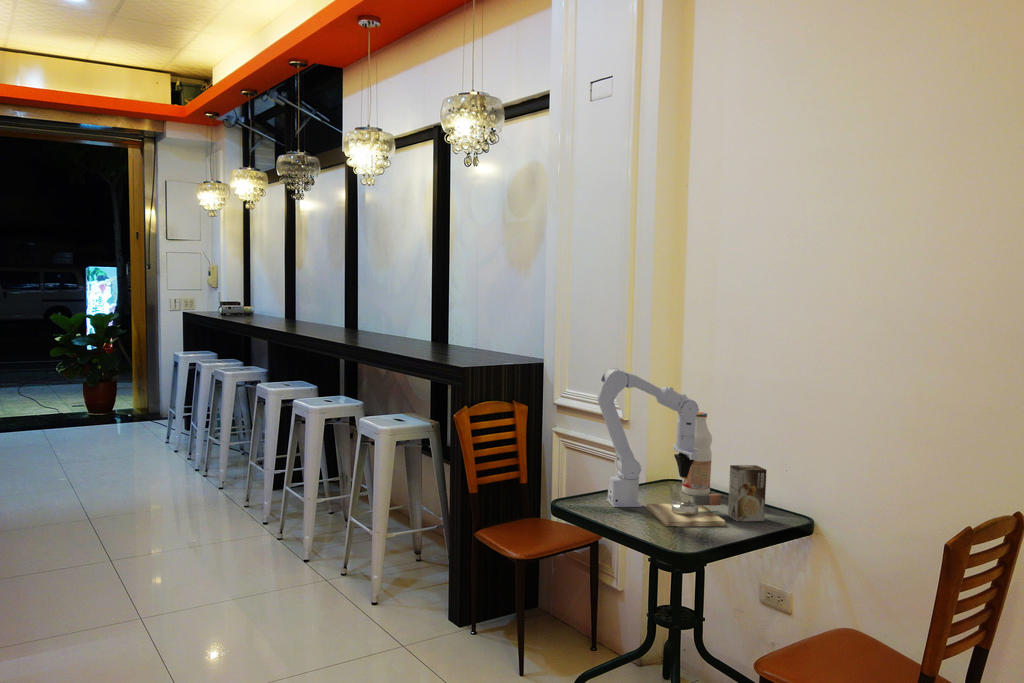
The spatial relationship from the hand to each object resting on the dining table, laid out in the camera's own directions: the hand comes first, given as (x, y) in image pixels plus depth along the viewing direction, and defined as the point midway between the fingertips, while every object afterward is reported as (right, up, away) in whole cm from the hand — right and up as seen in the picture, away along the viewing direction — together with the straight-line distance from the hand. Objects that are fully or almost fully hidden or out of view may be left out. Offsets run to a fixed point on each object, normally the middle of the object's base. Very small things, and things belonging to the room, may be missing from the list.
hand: (683, 476), depth 233 cm
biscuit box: (+17, -11, -11) cm, 23 cm away
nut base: (-3, -10, -12) cm, 16 cm away
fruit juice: (+8, -9, +17) cm, 21 cm away
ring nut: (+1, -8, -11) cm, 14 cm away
